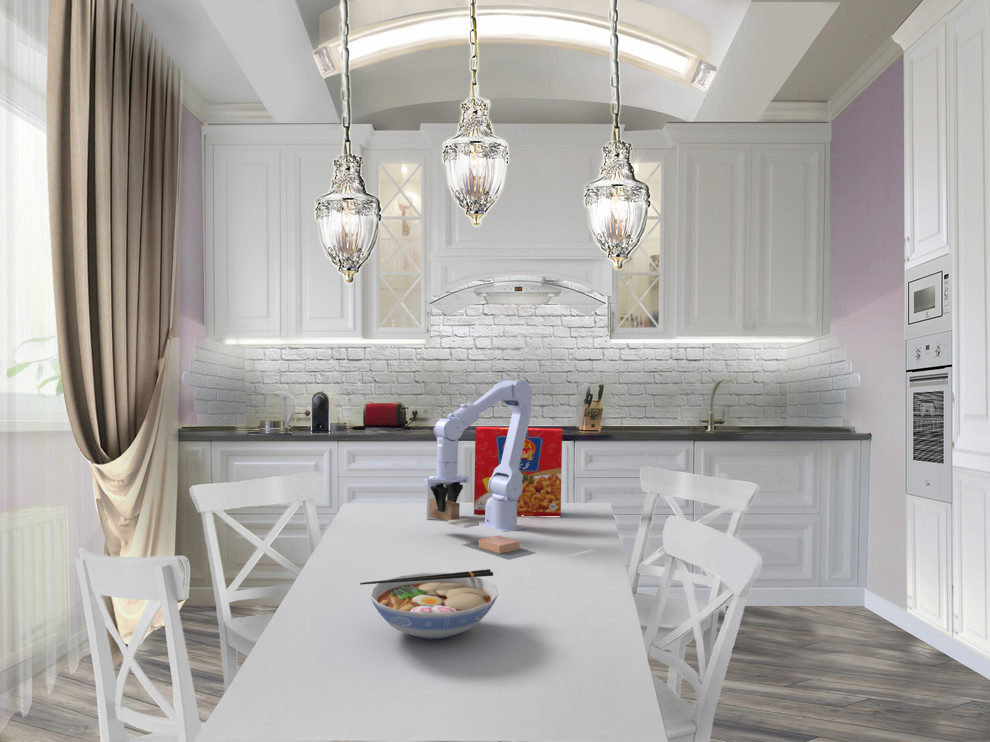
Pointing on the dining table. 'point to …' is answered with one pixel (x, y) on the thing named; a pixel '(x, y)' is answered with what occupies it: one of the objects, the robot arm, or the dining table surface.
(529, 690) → the dining table surface
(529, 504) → the pasta box
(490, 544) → the tile
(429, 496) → the supplement box
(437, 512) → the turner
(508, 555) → the mat
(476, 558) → the dining table surface
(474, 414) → the robot arm
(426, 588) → the ramen bowl
